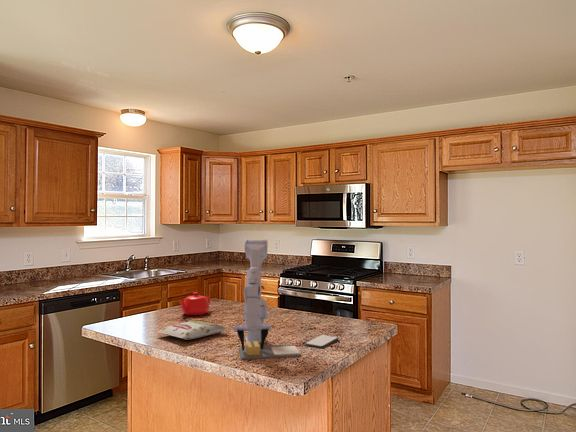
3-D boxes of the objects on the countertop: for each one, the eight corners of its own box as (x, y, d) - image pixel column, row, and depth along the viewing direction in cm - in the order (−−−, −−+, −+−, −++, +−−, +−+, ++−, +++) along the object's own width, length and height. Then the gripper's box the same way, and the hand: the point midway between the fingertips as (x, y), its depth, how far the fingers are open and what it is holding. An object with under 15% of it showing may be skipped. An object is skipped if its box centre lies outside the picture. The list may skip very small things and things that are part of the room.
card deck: (245, 349, 169) (245, 341, 169) (257, 348, 170) (257, 340, 170) (246, 355, 161) (247, 347, 161) (259, 354, 162) (260, 346, 162)
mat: (238, 348, 171) (238, 347, 171) (293, 346, 175) (293, 344, 175) (240, 359, 157) (240, 358, 157) (301, 356, 162) (301, 354, 162)
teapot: (199, 309, 251) (199, 288, 251) (219, 311, 243) (219, 290, 243) (167, 316, 230) (167, 294, 230) (188, 320, 222) (188, 297, 222)
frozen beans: (229, 321, 194) (183, 331, 175) (229, 334, 194) (183, 345, 175) (201, 316, 208) (156, 325, 189) (201, 328, 208) (156, 338, 189)
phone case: (322, 350, 172) (339, 340, 185) (322, 346, 172) (339, 337, 185) (303, 347, 176) (322, 337, 190) (303, 343, 176) (321, 334, 190)
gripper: (234, 317, 160) (234, 353, 160) (272, 315, 163) (272, 351, 163) (233, 313, 167) (233, 347, 167) (269, 312, 170) (269, 346, 170)
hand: (252, 349), depth 165 cm, fingers open, 7 cm apart
